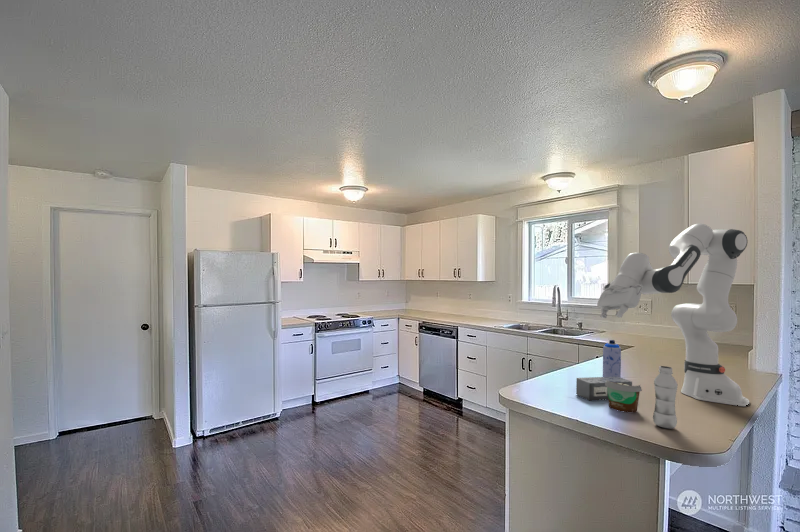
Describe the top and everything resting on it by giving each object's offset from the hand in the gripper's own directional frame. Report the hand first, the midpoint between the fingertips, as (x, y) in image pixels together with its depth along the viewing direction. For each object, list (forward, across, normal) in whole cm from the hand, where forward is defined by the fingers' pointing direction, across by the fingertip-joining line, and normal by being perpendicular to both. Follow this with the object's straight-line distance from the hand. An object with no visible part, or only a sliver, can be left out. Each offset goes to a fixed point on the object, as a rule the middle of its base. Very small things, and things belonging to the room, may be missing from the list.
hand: (610, 317), depth 154 cm
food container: (+30, -2, -18) cm, 35 cm away
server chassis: (+26, +14, -20) cm, 35 cm away
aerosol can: (+14, +33, -33) cm, 49 cm away
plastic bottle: (+30, -18, -22) cm, 42 cm away
